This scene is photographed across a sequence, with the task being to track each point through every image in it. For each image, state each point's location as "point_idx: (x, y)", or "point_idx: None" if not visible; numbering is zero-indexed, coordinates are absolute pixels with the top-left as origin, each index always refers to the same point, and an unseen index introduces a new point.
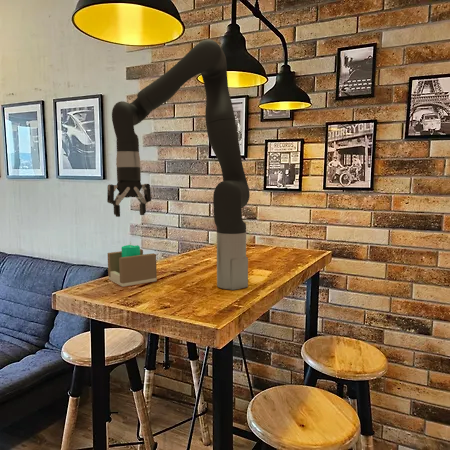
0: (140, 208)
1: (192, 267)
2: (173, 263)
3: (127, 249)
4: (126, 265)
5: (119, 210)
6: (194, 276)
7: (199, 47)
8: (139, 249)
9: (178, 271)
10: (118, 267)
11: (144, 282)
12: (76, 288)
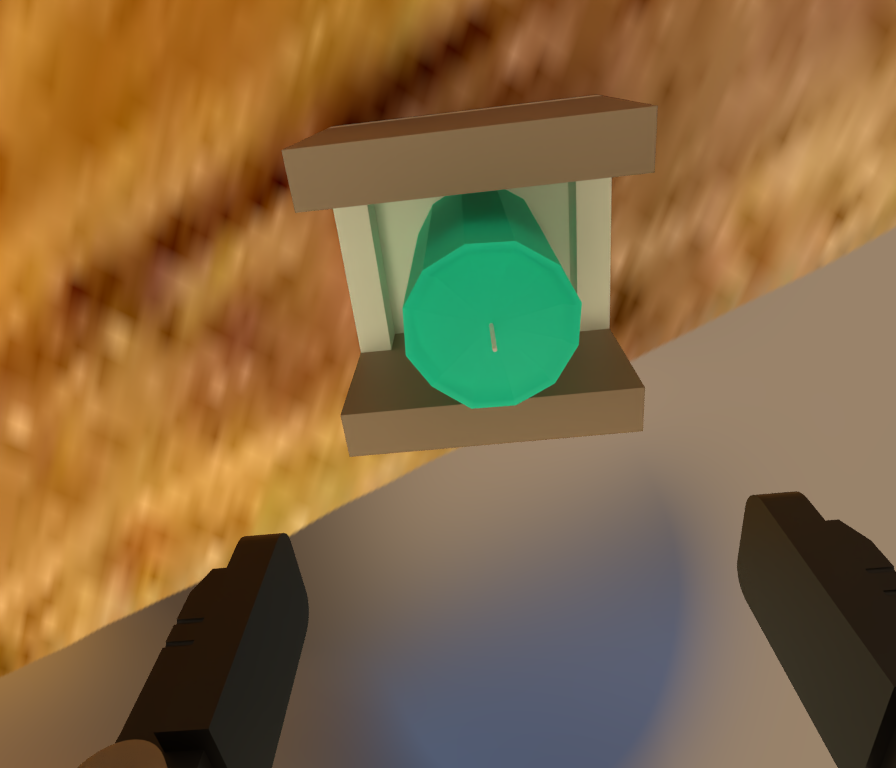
0: (273, 695)
1: (7, 365)
2: (116, 513)
3: (551, 256)
4: (591, 107)
5: (826, 575)
6: (31, 104)
7: None
8: (418, 273)
9: (123, 308)
10: None
11: (428, 115)
12: (850, 219)
